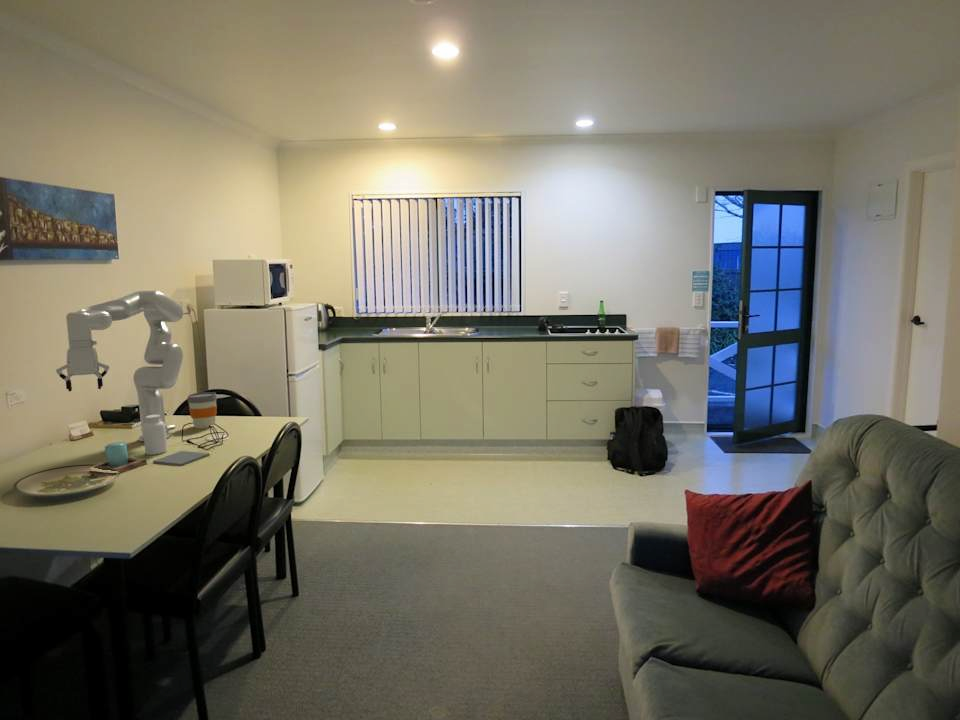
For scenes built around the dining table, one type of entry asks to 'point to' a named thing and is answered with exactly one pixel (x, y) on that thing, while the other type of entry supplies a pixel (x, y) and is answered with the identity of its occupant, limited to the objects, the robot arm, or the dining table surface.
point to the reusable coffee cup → (203, 409)
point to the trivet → (181, 458)
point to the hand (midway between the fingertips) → (85, 389)
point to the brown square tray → (132, 464)
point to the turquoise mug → (116, 454)
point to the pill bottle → (154, 435)
